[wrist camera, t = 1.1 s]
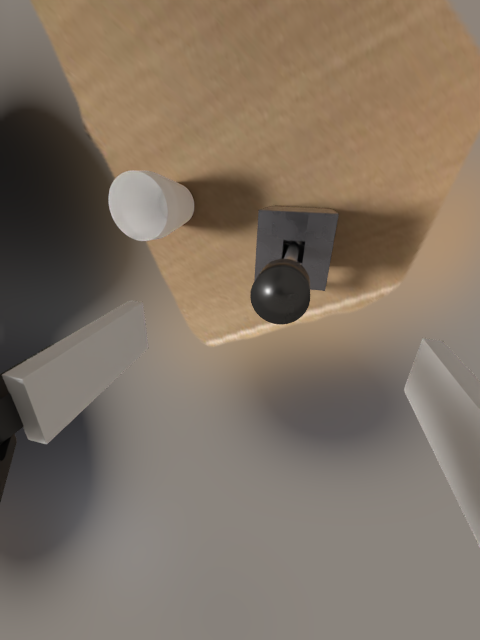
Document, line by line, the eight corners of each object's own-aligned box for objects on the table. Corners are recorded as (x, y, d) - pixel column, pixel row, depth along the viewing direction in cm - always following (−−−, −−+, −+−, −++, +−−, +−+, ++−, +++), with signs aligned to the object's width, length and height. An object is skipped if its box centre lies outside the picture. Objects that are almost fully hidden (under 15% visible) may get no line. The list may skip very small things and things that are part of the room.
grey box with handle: (272, 205, 43) (258, 209, 32) (330, 208, 42) (338, 213, 30) (266, 281, 49) (252, 308, 37) (317, 286, 47) (320, 316, 35)
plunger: (272, 219, 36) (234, 245, 18) (323, 222, 34) (337, 253, 16) (268, 267, 38) (232, 332, 20) (315, 271, 37) (320, 345, 19)
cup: (209, 191, 45) (178, 190, 34) (190, 240, 49) (157, 253, 38) (161, 164, 45) (115, 155, 34) (146, 216, 49) (101, 222, 38)
